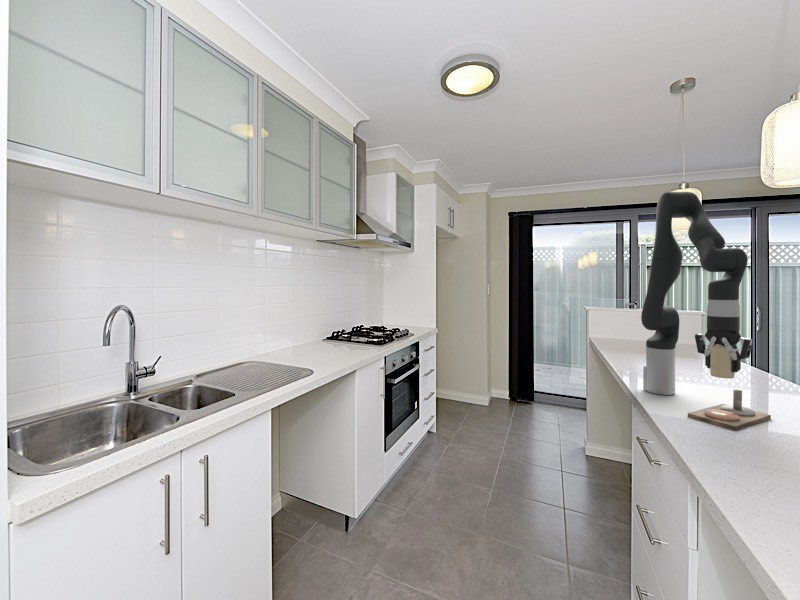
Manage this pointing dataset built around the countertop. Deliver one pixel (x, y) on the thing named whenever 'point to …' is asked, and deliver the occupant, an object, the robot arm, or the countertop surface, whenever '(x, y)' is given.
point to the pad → (722, 415)
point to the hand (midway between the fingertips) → (722, 369)
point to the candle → (721, 362)
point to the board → (745, 414)
